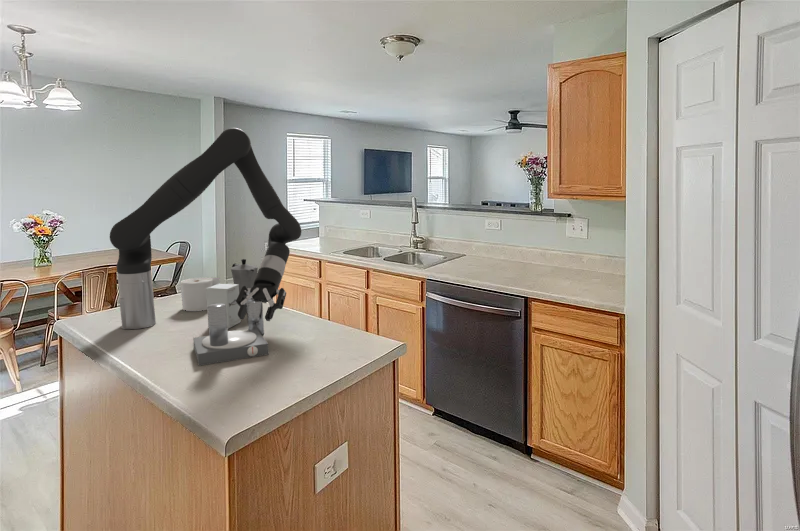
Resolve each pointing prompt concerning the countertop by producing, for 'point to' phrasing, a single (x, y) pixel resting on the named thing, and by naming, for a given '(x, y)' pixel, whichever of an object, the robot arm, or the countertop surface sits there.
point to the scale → (231, 347)
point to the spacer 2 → (255, 315)
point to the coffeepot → (244, 275)
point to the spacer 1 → (217, 324)
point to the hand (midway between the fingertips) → (253, 318)
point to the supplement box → (225, 300)
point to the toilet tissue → (196, 292)
